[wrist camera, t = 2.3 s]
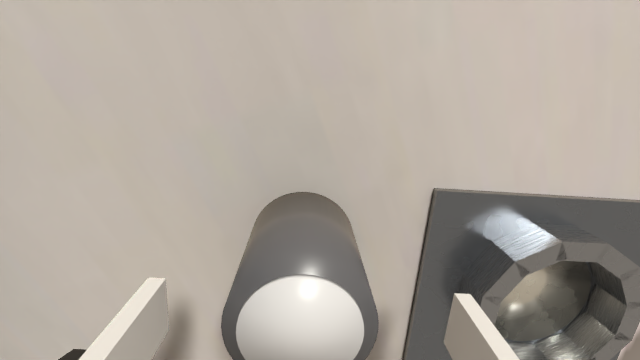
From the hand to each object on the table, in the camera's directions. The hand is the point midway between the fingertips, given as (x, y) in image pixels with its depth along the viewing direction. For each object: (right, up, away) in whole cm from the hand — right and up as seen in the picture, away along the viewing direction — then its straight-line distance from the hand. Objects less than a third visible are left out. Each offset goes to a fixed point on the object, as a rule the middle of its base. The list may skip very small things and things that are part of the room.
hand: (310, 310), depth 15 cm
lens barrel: (-1, +2, +6) cm, 7 cm away
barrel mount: (+15, -2, +8) cm, 17 cm away
